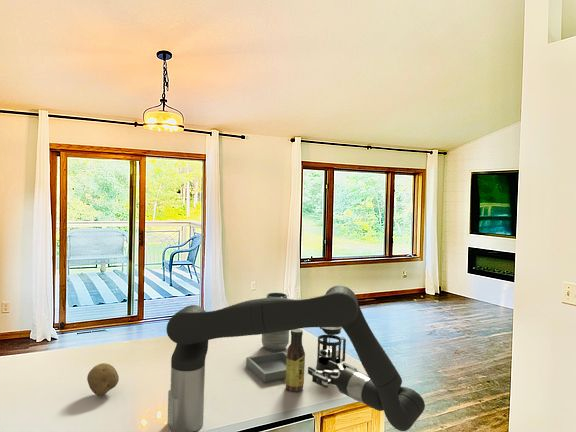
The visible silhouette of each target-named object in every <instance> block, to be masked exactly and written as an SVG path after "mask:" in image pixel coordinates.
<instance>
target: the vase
mask: <svg viewBox="0 0 576 432" xmlns="http://www.w3.org/2000/svg"><path fill="white" fill-rule="evenodd" d="M265 298H286V299H289V298H288V295H287V294H286V293H283V292H269V293H267V294H266V297H265ZM289 340H290V330H289V331H281V332H274V333H268V334H261V343H262V346H264V349H265V350H267V351H270V352H274V353H276V352H282V351H284V350H286V347H288V345H289Z"/></svg>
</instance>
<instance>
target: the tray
mask: <svg viewBox="0 0 576 432" xmlns="http://www.w3.org/2000/svg"><path fill="white" fill-rule="evenodd" d="M286 360H287V352H285V351H284V350H282V351H276V352H272V353H266V354H259V355H253V356H247V357H246V362H245V363H246V364H245V367H246V368H247V369H248V370H249V371H250V372H251V373H252V374H253V375H254V376H255V377H257V379H259V381H261V382H262V383H263V384H264V385H266V384H270V383H271V384H272V383H275V382H280V381H286Z"/></svg>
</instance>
